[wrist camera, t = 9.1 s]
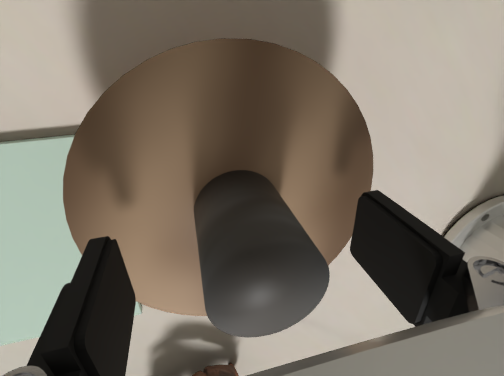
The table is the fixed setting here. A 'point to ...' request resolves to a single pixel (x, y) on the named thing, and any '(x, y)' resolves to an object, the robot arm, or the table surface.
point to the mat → (33, 235)
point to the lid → (222, 181)
